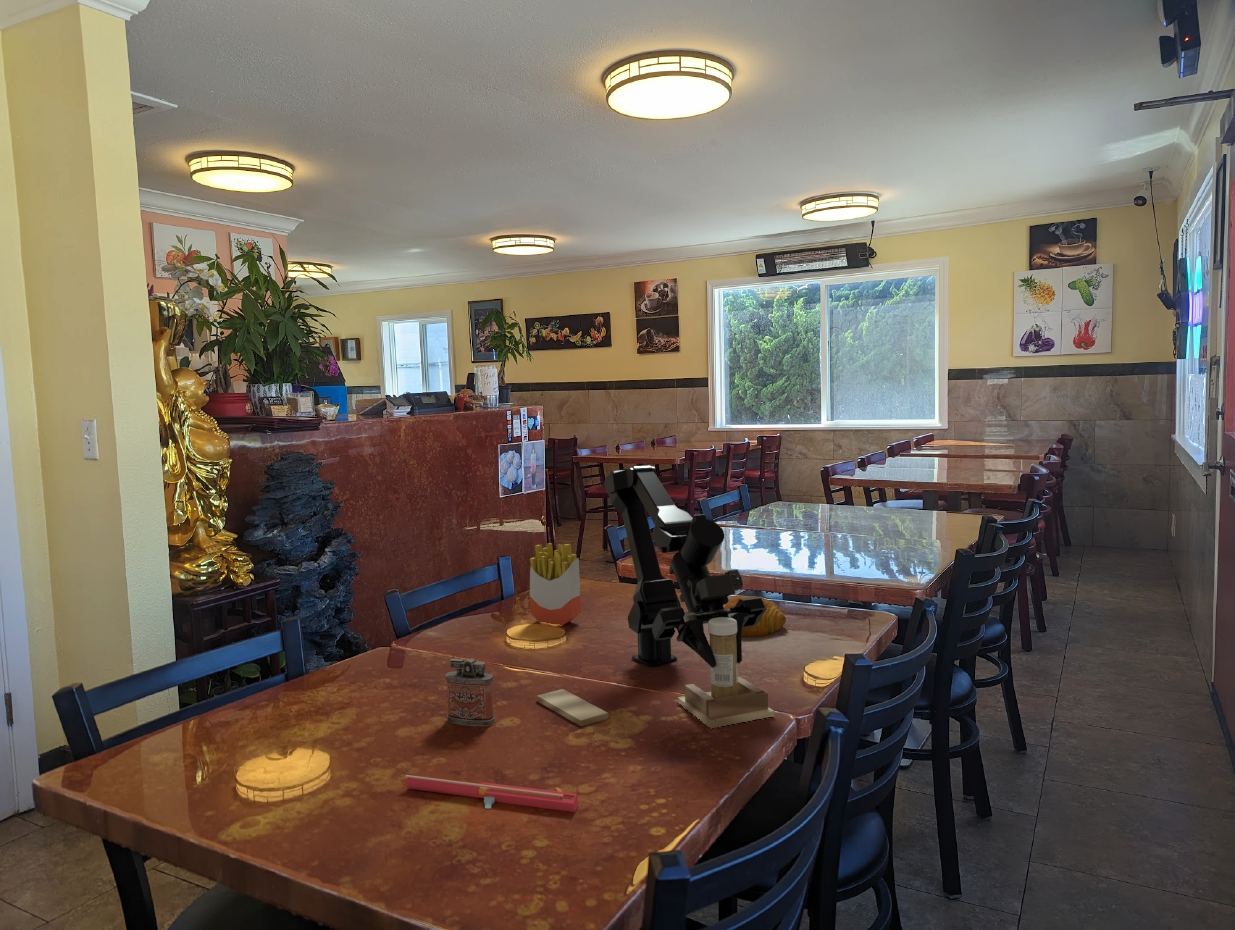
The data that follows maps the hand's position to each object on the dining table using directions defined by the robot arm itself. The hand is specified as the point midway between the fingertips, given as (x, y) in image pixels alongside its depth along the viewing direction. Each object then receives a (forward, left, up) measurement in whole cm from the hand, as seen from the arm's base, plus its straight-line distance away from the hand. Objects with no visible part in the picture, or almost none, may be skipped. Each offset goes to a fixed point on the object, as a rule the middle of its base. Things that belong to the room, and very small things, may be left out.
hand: (727, 664), depth 132 cm
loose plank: (-17, -19, -8) cm, 27 cm away
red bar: (+3, -43, -8) cm, 44 cm away
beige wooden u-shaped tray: (-1, 0, -8) cm, 8 cm away
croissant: (-34, +36, -8) cm, 50 cm away
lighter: (-23, -34, -8) cm, 42 cm away
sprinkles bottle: (-1, 0, -7) cm, 7 cm away
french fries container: (-65, +6, -8) cm, 66 cm away
